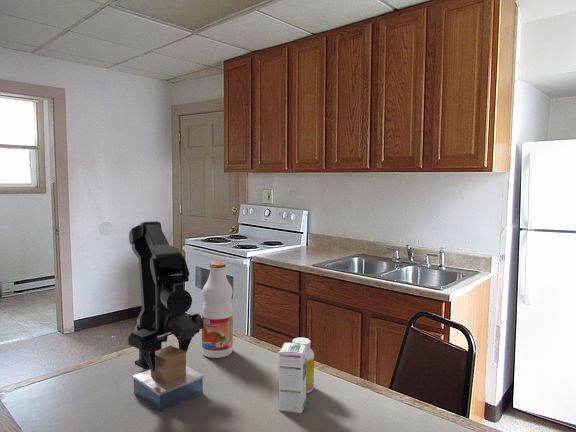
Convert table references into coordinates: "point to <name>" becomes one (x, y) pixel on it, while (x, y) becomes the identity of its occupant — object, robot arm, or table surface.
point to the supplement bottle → (308, 363)
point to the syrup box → (292, 377)
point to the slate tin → (167, 388)
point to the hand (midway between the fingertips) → (168, 364)
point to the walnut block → (169, 364)
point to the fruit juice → (217, 313)
